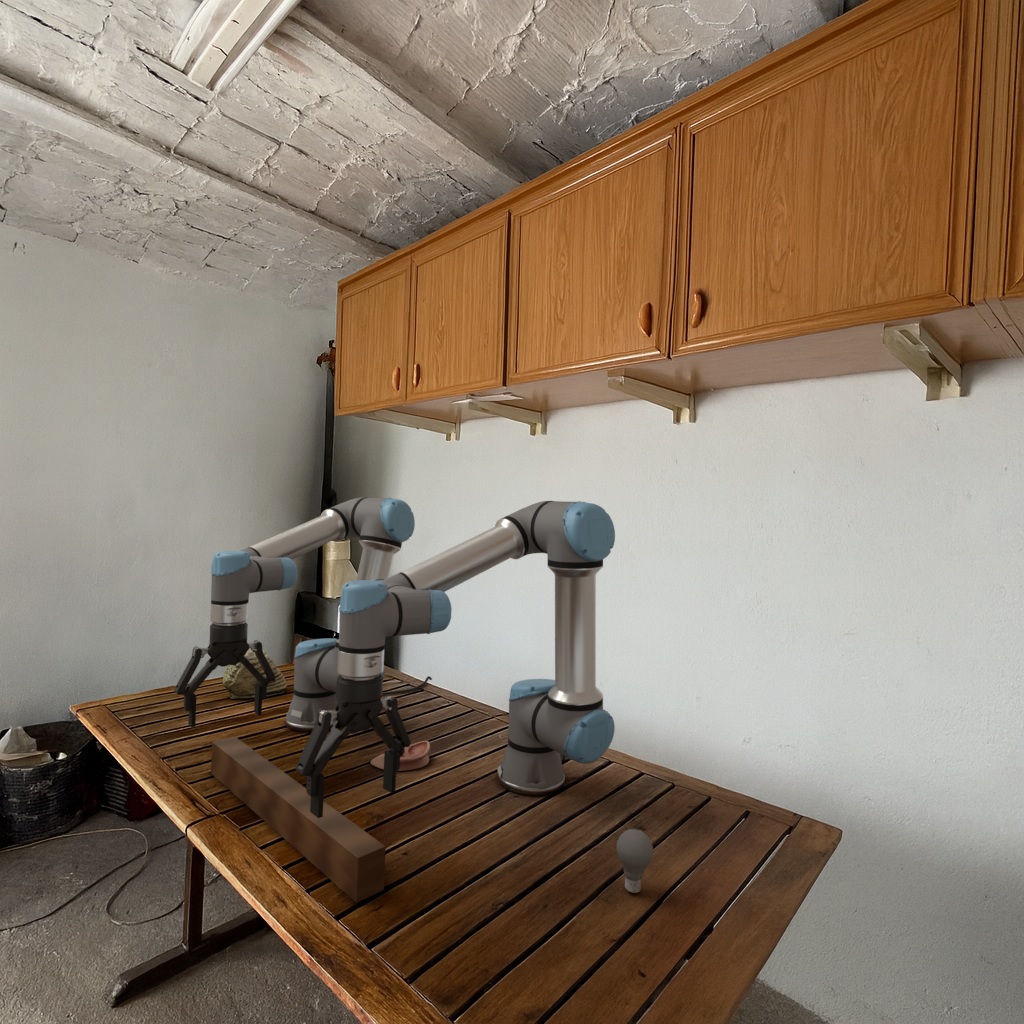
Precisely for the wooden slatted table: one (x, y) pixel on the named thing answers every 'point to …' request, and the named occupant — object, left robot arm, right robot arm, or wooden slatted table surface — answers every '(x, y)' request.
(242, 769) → the bar
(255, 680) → the fossil
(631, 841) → the light bulb
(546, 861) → the wooden slatted table surface
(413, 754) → the anatomical model
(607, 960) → the wooden slatted table surface
